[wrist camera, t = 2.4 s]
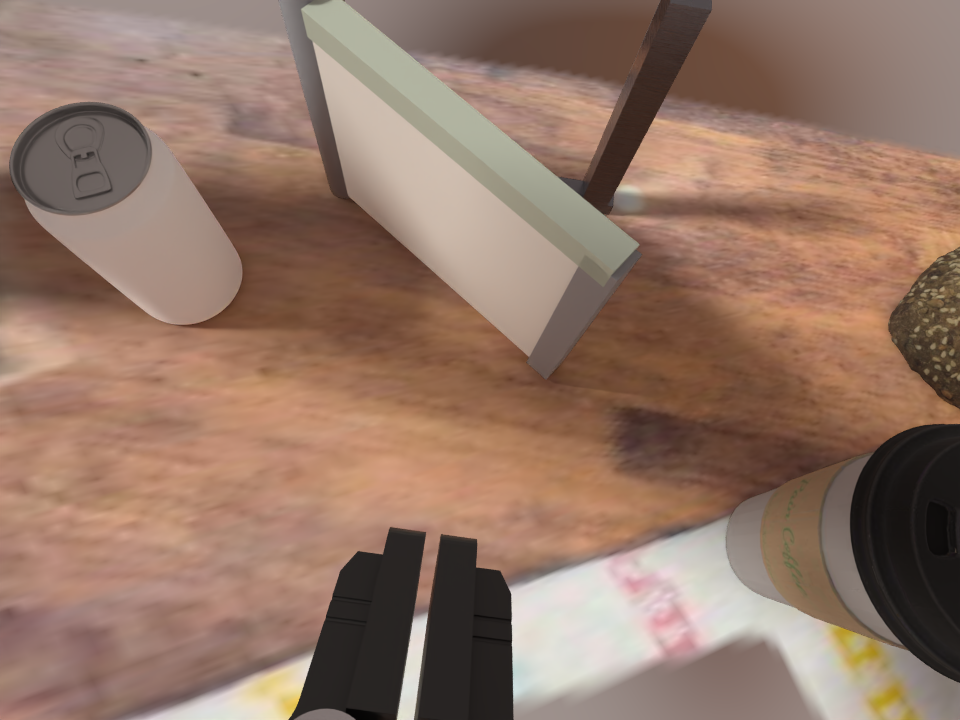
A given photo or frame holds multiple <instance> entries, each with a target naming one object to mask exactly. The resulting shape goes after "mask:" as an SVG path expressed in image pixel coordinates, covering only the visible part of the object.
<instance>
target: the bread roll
mask: <svg viewBox="0 0 960 720" xmlns="http://www.w3.org/2000/svg"><path fill="white" fill-rule="evenodd" d="M888 326H889V332H890V334H891V336H892V341H893V342H894V343H895V344H896V346H897V347H898V348H899V350H900V351H901V353H902V355H903V356H904V358H905V359H906V361H907V362H908V364H909V366H910V368H911V370H914V371H916V372H918V373H919V374H920V375H921V377H922V378H923V380H925V381H926V382H927V383H928V384H929V385H930V386H931V387H932V388H933V389H934V390H935V391H936V393H937V395H938V396H939V397H940V398H942V399H943V400H944V401H946V402H947V403H949V404H952V405H955V406H957V407H959V408H960V247H959V248H957V249H956V250H954V251H952V252H949V253H947V254H946V255H944V256H941V257H939V258H938V259H937V260H936V261H935V262H934V263H933V264H932V265H930V267H929V268H928V269H927V270H925V271H924V272H923V273H922V274H921V275H920V276H919V278H918V279H917V281H916V282H915V283H914V284H913V285H912V287H911V289H910V292H909V293H908V294H907V295H906V296H905V297H904V298H903V300H901V301H900V303H899V305H898V306H897V308H896V309H895V310H894V311H893V312H892V314H891V317H890V320H889V323H888Z"/></svg>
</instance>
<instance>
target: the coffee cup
mask: <svg viewBox="0 0 960 720" xmlns="http://www.w3.org/2000/svg"><path fill="white" fill-rule="evenodd" d="M726 549H727V555H728V559H729V562H730V564H731V567H732V569H733V571H734V572H735V574H736V576H737V577H738V578H739V579H740V581H741V582H742V583H743V584H744V585H745V586H747V587H748V588H749V589H751V590H752V591H754V592H756V593H758V594H760V595H762V596H764V597H767V598H769V599H772V600H775V601H778V602H781V603H783V604H786V605H789V606H792V607H795V608H797V609H798V610H800V611H802V612H804V613H806V614H808V615H810V616H812V617H814V618H817V619H819V620H822V621H825V622H828V623H831V624H833V625H836V626H839V627H842V628H845V629H847V630H850V631H853V632H856V633H859V634H861V635H864V636H867V637H870V638H873V639H875V640H878V641H881V642H884V643H887V644H889V645H892V646H895V647H899V648H902V649H906V650H909V651H910V652H911V653H912V654H913V655H915V656H916V657H917V658H918V659H920V660H921V661H922V662H924V663H925V664H926V665H928V666H929V667H931V668H932V669H934V670H935V671H937V672H939V673H940V674H942V675H944V676H946V677H948V678H950V679H952V680H954V681H956V682H959V683H960V424H947V425H946V424H932V425H924V426H919V427H914V428H912V429H909V430H906V431H903V432H901V433H899V434H897V435H895V436H894V437H892V438H890V439H889V440H887V441H886V442H885V443H884V444H882V445H881V446H880V447H879V448H878V449H877V450H876V451H875V452H871V453H867V454H863V455H860V456H856V457H853V458H850V459H848V460H845V461H842V462H839V463H837V464H834V465H831V466H828V467H825V468H823V469H820V470H817V471H814V472H812V473H809V474H806V475H803V476H801V477H798V478H795V479H792V480H790V481H788V482H786V483H785V484H783V485H781V486H780V487H779V488H776V489H773V490H771V491H768V492H765V493H762V494H760V495H757V496H754V497H751V498H749V499H747V500H745V501H744V502H742V503H741V504H740V505H739V506H738V507H737V508H736V509H735V510H734V512H733V514H732V515H731V517H730V520H729V523H728V526H727V532H726Z"/></svg>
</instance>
